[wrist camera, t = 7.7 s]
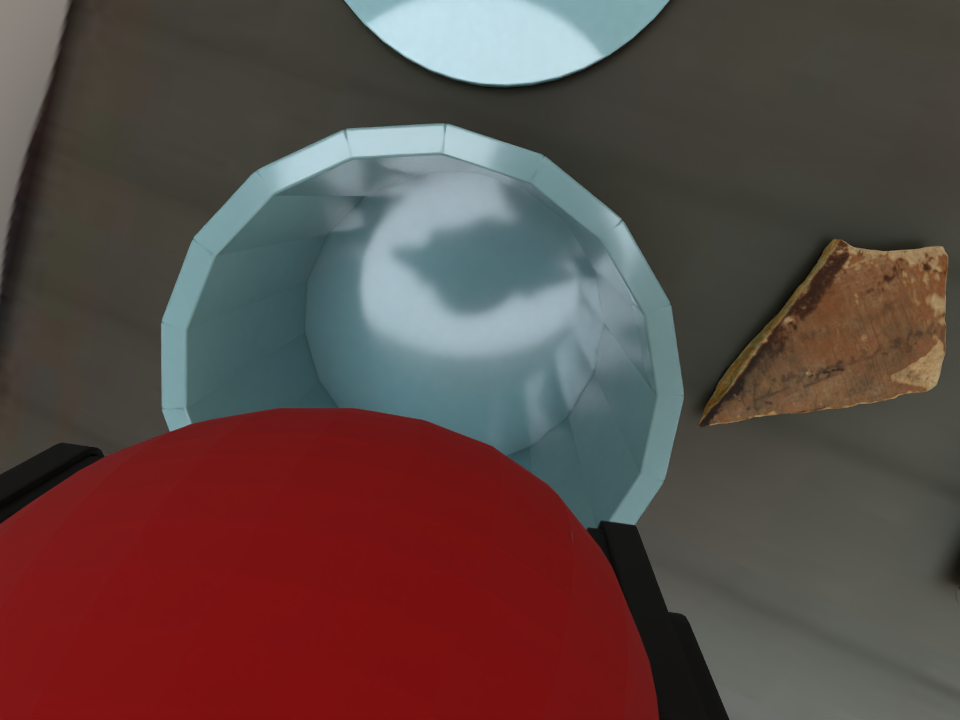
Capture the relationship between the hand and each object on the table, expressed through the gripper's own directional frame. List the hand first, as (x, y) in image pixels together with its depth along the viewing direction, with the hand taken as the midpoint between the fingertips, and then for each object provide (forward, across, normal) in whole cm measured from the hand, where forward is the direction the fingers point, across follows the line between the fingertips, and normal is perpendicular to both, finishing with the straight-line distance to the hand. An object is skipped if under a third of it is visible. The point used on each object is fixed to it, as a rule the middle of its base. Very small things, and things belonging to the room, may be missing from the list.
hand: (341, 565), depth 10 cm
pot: (+20, 0, 0) cm, 20 cm away
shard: (+20, -18, -1) cm, 27 cm away
